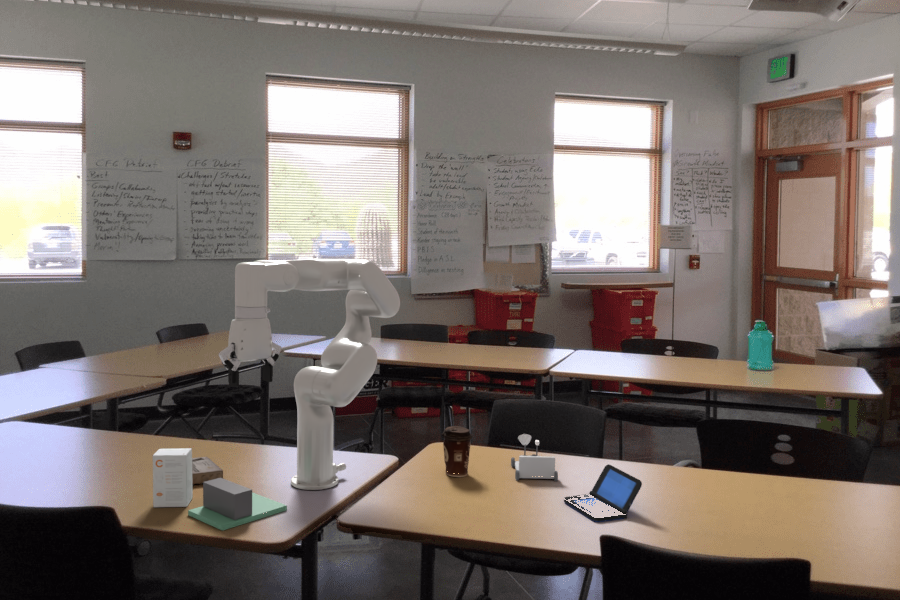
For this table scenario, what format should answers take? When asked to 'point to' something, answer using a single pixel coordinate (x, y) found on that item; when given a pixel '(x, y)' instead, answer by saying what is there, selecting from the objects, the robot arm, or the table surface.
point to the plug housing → (227, 498)
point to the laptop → (611, 492)
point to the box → (204, 470)
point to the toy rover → (533, 463)
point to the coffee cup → (456, 450)
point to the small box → (172, 477)
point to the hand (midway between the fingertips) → (250, 383)
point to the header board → (223, 522)
